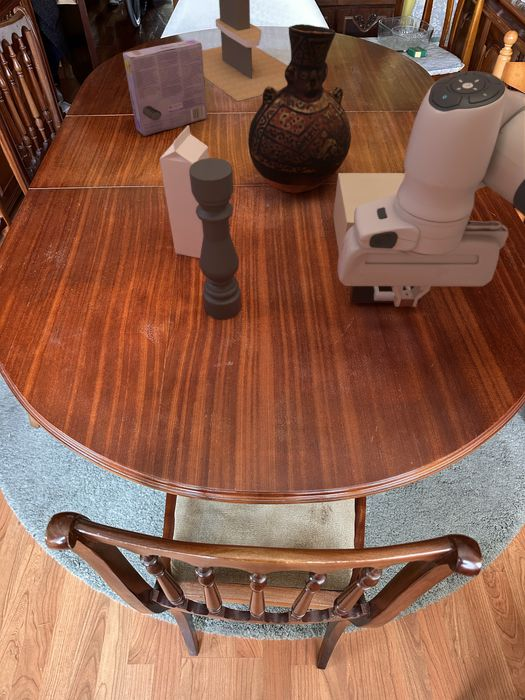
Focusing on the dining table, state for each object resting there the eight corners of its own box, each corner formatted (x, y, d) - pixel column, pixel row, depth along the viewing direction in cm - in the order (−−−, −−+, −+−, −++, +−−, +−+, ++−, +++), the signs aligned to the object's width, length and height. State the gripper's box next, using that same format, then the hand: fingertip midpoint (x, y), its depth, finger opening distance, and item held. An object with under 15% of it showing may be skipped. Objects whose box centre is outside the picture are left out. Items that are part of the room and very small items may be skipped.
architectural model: (313, 80, 145) (319, -1, 130) (237, 101, 137) (234, 17, 122) (245, 40, 167) (243, -33, 152) (176, 56, 158) (166, -20, 143)
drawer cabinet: (410, 267, 92) (422, 222, 84) (340, 267, 92) (347, 222, 84) (395, 216, 102) (405, 172, 94) (333, 216, 102) (338, 172, 95)
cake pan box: (203, 110, 133) (196, 35, 120) (212, 118, 130) (206, 41, 117) (135, 130, 126) (120, 52, 113) (143, 138, 124) (129, 59, 110)
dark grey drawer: (424, 321, 81) (436, 284, 76) (353, 321, 81) (360, 284, 76) (403, 248, 94) (413, 212, 88) (342, 248, 94) (347, 212, 88)
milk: (175, 253, 94) (154, 139, 78) (187, 235, 98) (170, 121, 81) (205, 259, 93) (191, 144, 76) (217, 240, 97) (206, 126, 80)
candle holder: (238, 291, 87) (231, 155, 69) (244, 317, 83) (237, 179, 65) (202, 296, 87) (185, 159, 68) (206, 321, 83) (188, 183, 64)
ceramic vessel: (256, 211, 103) (253, 49, 80) (243, 167, 114) (237, 14, 92) (355, 201, 105) (380, 40, 83) (333, 159, 117) (350, 7, 94)
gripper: (505, 206, 64) (471, 288, 74) (343, 206, 64) (331, 288, 74) (522, 237, 60) (483, 319, 70) (348, 237, 60) (335, 319, 70)
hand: (404, 303), depth 72 cm, fingers closed
